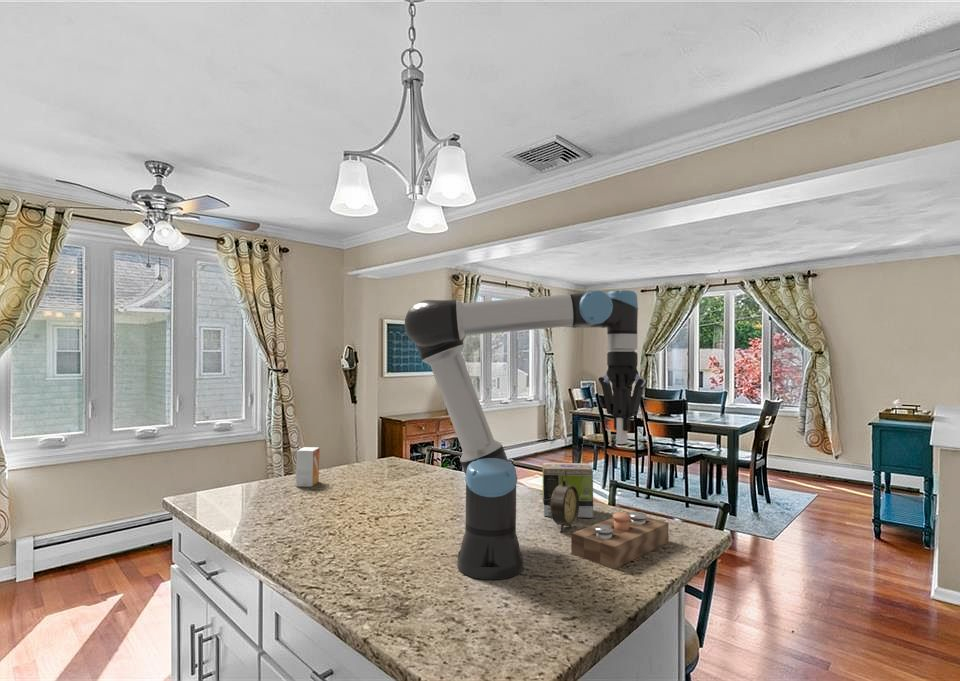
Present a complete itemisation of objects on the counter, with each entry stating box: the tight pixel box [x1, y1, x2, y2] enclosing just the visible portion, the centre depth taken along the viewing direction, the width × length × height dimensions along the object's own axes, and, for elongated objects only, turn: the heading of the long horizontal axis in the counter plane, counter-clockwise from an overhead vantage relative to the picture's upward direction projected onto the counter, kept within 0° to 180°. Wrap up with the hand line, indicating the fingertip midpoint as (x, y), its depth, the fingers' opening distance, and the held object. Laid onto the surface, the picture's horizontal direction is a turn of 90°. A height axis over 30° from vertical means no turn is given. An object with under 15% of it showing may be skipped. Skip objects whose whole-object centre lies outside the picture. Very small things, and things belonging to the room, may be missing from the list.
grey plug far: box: [629, 511, 648, 525], centre depth 135 cm, size 4×4×5 cm
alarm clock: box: [550, 470, 579, 534], centre depth 144 cm, size 11×5×16 cm, turn 147°
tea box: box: [542, 462, 594, 519], centre depth 158 cm, size 15×10×15 cm
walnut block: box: [570, 512, 669, 570], centre depth 130 cm, size 26×12×5 cm, turn 133°
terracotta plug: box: [612, 512, 631, 532], centre depth 130 cm, size 4×4×5 cm
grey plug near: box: [595, 525, 613, 540], centre depth 124 cm, size 4×4×5 cm
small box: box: [295, 446, 321, 488], centre depth 189 cm, size 8×6×13 cm
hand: (621, 443), depth 130 cm, fingers closed
